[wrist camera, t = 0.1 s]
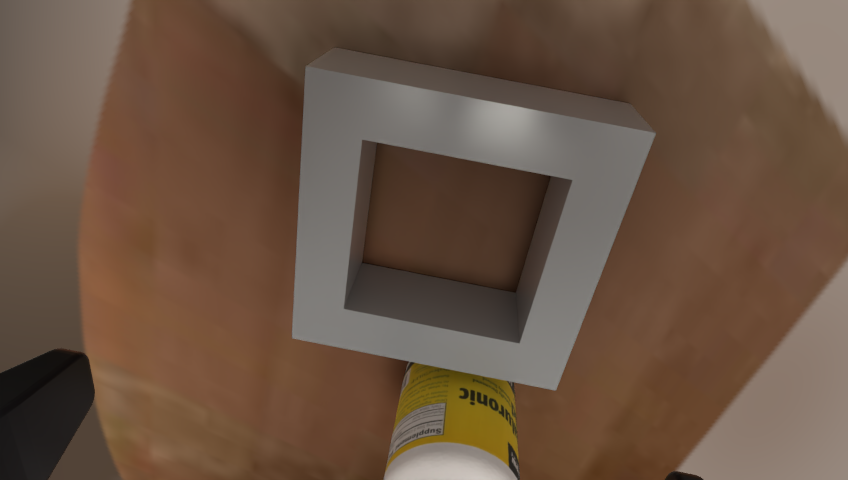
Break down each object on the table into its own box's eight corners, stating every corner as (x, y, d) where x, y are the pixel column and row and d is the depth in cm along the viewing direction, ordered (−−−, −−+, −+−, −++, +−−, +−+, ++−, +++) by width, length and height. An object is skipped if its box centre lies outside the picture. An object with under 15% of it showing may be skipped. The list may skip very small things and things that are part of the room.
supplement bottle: (534, 391, 27) (555, 601, 18) (444, 428, 29) (425, 634, 20) (475, 315, 25) (468, 509, 16) (383, 360, 27) (334, 555, 18)
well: (547, 336, 25) (555, 390, 22) (315, 290, 25) (291, 338, 22) (630, 103, 20) (655, 133, 17) (334, 47, 20) (305, 66, 17)
